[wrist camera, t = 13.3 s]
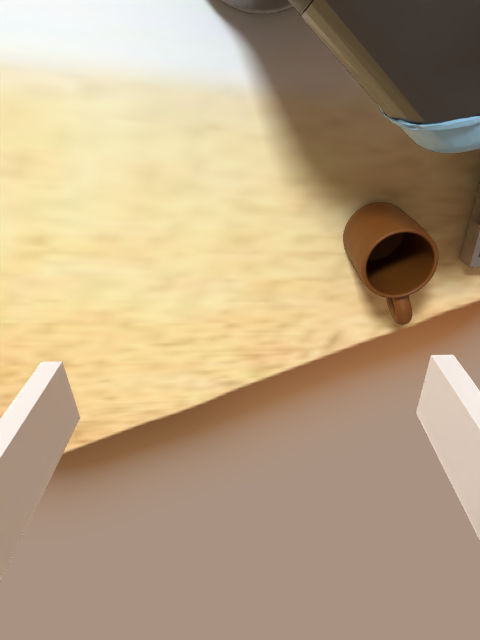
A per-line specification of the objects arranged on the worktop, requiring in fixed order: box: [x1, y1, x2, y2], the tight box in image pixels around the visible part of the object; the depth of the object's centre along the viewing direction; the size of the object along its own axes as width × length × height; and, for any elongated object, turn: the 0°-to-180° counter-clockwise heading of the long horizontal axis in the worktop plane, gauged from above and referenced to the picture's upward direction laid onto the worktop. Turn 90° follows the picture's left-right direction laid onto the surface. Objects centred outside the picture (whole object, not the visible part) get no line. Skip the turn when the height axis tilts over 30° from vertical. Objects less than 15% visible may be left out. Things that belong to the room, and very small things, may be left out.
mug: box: [343, 203, 438, 325], centre depth 45 cm, size 12×8×9 cm, turn 18°
